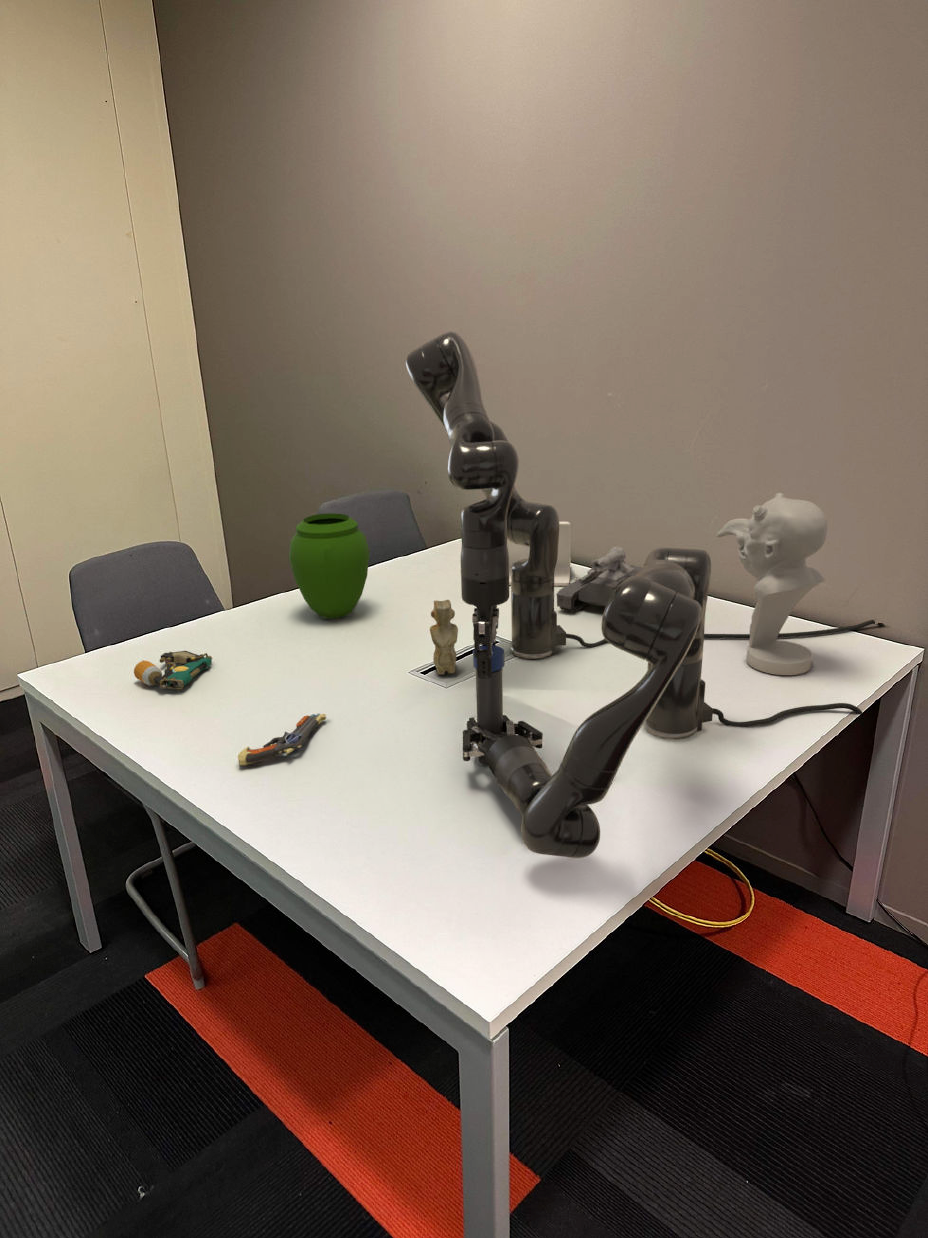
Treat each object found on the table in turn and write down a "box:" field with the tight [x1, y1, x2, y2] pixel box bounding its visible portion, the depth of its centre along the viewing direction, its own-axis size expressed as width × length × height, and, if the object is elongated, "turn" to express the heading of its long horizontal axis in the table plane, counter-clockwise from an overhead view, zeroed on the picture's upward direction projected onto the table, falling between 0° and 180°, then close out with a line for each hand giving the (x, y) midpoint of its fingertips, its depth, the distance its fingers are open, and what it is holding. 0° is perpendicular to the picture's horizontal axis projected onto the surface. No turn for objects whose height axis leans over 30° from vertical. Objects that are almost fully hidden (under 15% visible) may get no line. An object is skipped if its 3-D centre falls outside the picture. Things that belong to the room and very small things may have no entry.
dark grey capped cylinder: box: [475, 668, 504, 767], centre depth 141 cm, size 4×4×19 cm
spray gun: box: [133, 650, 213, 690], centre depth 180 cm, size 4×17×15 cm
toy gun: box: [237, 713, 327, 766], centre depth 151 cm, size 3×19×10 cm
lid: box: [472, 645, 506, 671], centre depth 138 cm, size 5×5×2 cm
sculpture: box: [429, 599, 459, 675], centre depth 177 cm, size 6×7×15 cm
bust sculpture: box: [716, 492, 828, 676], centre depth 176 cm, size 16×24×35 cm
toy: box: [556, 546, 643, 613], centre depth 212 cm, size 25×20×15 cm
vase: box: [288, 512, 370, 620], centre depth 209 cm, size 20×20×24 cm
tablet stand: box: [507, 521, 572, 587], centre depth 236 cm, size 18×25×17 cm
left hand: (486, 667), depth 138 cm, fingers open, 7 cm apart
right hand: (485, 720), depth 145 cm, fingers closed on dark grey capped cylinder, 4 cm apart
